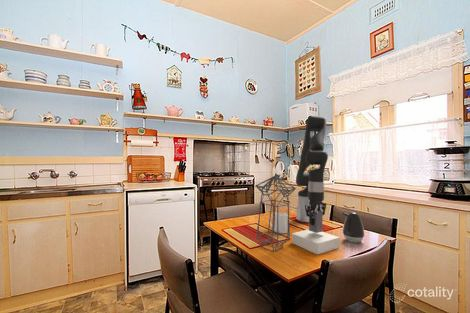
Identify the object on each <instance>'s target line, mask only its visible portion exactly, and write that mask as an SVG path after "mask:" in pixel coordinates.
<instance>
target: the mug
mask: <svg viewBox="0 0 470 313" xmlns="http://www.w3.org/2000/svg"><path fill="white" fill-rule="evenodd" d="M269 219H270V216H269V218H268V220H267V223H268V224H269ZM271 220H273V214H271V219H270V227H271V228H272V223H271ZM273 226H274V225H273ZM287 228H288V212H279V211H278V234H281V235H282V234H283V235H285V234H287ZM274 233H277V212H275V227H274Z"/></svg>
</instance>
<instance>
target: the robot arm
mask: <svg viewBox="0 0 470 313" xmlns="http://www.w3.org/2000/svg"><path fill="white" fill-rule="evenodd" d="M305 124H306V125H305V130H304V138H303V143H302V144H303V145H302V148H301V154H300V160H299V164H298V165H299V166H298V169H297V173H296V177H295V184H296V185H297V186H299V187H305V188H303V189H301V190H299V191H298V192H297V206H296V220H297V221H298V222H302V223H309V217H310V225H312V226H314V220H315V218H314V217H315V213H316V212H317V211H323V216H325V214H326V208H327V203H325V202H324V200H325V184H324V182H325V181H324V176H325V167H326V165H327V162H328V158H329V156H328V153H327V152H326V151H325V148H324V142H325V141H324V139H325V134H326V133H325V132H326V129H327V118H326V117H324V116H319V115H317V116H315V115H309V116H308V117H307V119H306V123H305ZM311 132H314V133H315V132H316V133H315V134H313V136H312V133H311ZM317 165H318V166H319V167H318V168H315V169H314V168H313V169H310V170H309V172H305V171H306V170H307V169H308V168H309V167H310V166H317ZM313 211H314V212H313ZM312 213H313V215H312Z"/></svg>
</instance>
